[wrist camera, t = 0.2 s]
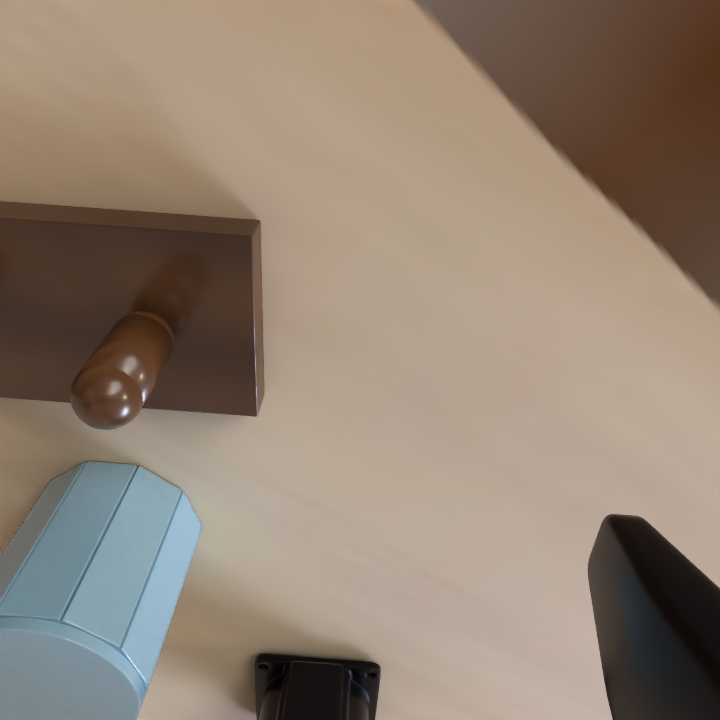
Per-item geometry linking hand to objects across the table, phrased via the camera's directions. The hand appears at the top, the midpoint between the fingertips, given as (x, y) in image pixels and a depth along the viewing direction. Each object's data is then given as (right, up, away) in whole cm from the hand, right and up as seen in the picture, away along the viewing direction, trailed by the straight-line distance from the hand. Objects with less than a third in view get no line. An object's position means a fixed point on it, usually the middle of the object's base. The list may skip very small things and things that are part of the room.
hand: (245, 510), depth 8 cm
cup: (-9, -5, +21) cm, 23 cm away
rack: (-13, +4, +15) cm, 21 cm away
